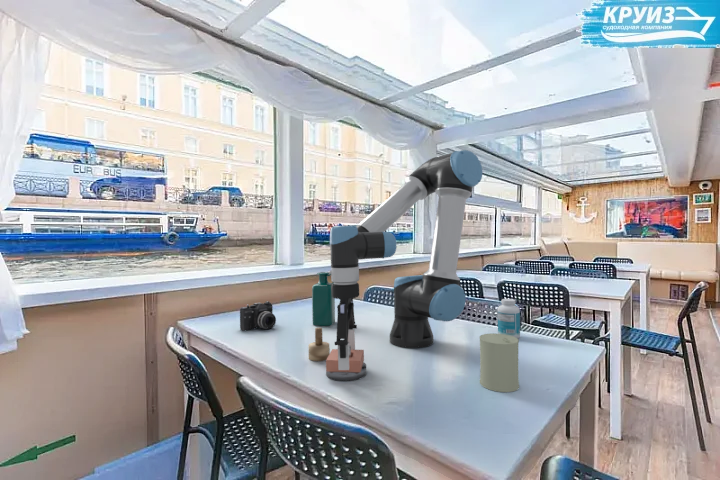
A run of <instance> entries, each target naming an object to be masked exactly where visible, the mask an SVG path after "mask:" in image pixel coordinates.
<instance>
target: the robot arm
mask: <svg viewBox="0 0 720 480" xmlns="http://www.w3.org/2000/svg"><path fill="white" fill-rule="evenodd" d="M482 179H483V166H482V163H481V161H480V160H479V158H478V156H477V155H476V154H475V153H474V152H473V151H470V150H468V149H464V150H455V151H453V152H450V153H447V154H442V155H439V156H435V157H432V158H430V159H428V160H426V161H425V162H424V163H422V164H421V165H420V166H419V167H418V168H416V169H415V170H414V171H413V172H411V173H410V174H409V175H408V176H407V177H406V178H405V179H404V183H403V184H402V185H401V186H400V187H399V188H398V189H397V190H396V191H395V192H393V193H392V194H391V195H390V196H389V197H388V198H386V200H385V201H384V202H382V203H381V204H380V205H379V206H378V207H377V208H375V209H374V210H373V211H372V212H371V213H369V214H368V215H367V216H366V217H365V218H364V219H362V220H361V221H360V222H359V223H358V224H357V225H334V226H332V227H331V228H330V231H329V232H330V233H329V246H330V247H329V248H330V250H329V251H330V270H329V271H328V272H329V274H332V275H330V277H331V283H332V282H334V283H333V284H332V285H331V290H332V297H333V298H335V300H337V299H338V300H339V302H338V304H337V306H336V307H337V321H336V341H334V345H335V346H337V349H338V370H349V345H351V350H356V338H355V337H356V336H355V334H356V332H355V329H357V328H358V326H357V325H358V324H356V321H355V320H356V319H355V310H354V306H355V305H354V304H355V303H354V299H355V298H358V297H359V296H360V283H359V281H360V266H359V260H361V261H362V260H370V259H371V260H372V259H386V258H391V257H393V256H395V253H396V251H397V247H398V246H397V238H396V237H395V235H394V234H393V233H392V232H390V231H387V230H388V229H390V228H391V226H393V224H395V223H396V222H397V221H398V220H399V219H400V218H401V217H403V215H405V214H406V212H408V211H409V210H410V209H411V208H412V207H413V206H415V204H416V203H417V202H418V201H422V200H424V199H425V200H426V198H427V197H428V196H430V195H431V194H433V193H435V194H436V195H437V197H438V202H437V208H436V214H435V215H436V217H435V222H434V231H433V237H432V243H431V250H430V257H429V264H428V269H427V270H426V271H425V272H424V273H422V274H420V275H418V274H417V275H407V276H406V275H405V276H397V277H396V278H395V279H394V283H393V296H394V299H393V300H394V302H393V305H394V306H393V307H394V311H393V312H394V320H393V323H392V325H391V330H390V333H389V342H390V344H392V345H395V346H397V347H401V348H410V349H413V348H416V349H417V348H426V347H429V346H432V345H433V344H434V343H435V342H434V333H433V331H432V327H431V324H430V321H429V318H430V319H432V320H435V321H440V322H441V321H442V322H452V321H453V320H455V319H457V318H458V317H459V316H460V315H461V314H462V312H463V311H464V309H465V306H466V300H467V299H466V298H467V297H466V293H465V290H464V289H463V287H461V286H460V283H461V279H460V277H459V276H458V275H457V269H458V261H459V254H460V248H461V247H460V245H461V239H462V233H463V232H462V231H463V226H464V225H463V223H464V219H465V218H464V217H465V209H466V202H467V199H469V198H470V197H471V196H472V193H473V189H474V188H473V187H476V186H477V185H478V184H479V183H480V182H481V180H482ZM348 342H349V344H348Z"/></svg>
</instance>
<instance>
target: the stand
mask: <svg viewBox="0 0 720 480" xmlns="http://www.w3.org/2000/svg"><path fill="white" fill-rule="evenodd" d="M314 330H315V331H314V335H315V336H314V342H310V343H308V347H307V349H308V359H309V360H310V361H313V362H323V361H326V359H327V358H328V356H329V354H330V352H331V351H330V343H329V342H327V341H323V327H315V328H314Z"/></svg>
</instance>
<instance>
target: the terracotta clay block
mask: <svg viewBox="0 0 720 480" xmlns="http://www.w3.org/2000/svg"><path fill="white" fill-rule="evenodd" d="M364 351H365V350H364V349H355V350H351V357H349V370H338V348H337V349H336V348H334V349H333V348H332V349H331V351H330V354H329V356H328V358H327V359H326V360H325V372H326V371H327V372H361V369H362V365H363V362H364V363H365V354H364V353H365V352H364Z"/></svg>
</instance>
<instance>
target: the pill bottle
mask: <svg viewBox="0 0 720 480" xmlns="http://www.w3.org/2000/svg"><path fill="white" fill-rule="evenodd" d="M520 313H521V309H520V308H519V306H517V305H516V299H515V298H502V299H501V303H500V305H499V306H498V307H497V334H505V335H510V336H513V337H516V338H517V339H518V340H519V339H520V338H521V314H520Z"/></svg>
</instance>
